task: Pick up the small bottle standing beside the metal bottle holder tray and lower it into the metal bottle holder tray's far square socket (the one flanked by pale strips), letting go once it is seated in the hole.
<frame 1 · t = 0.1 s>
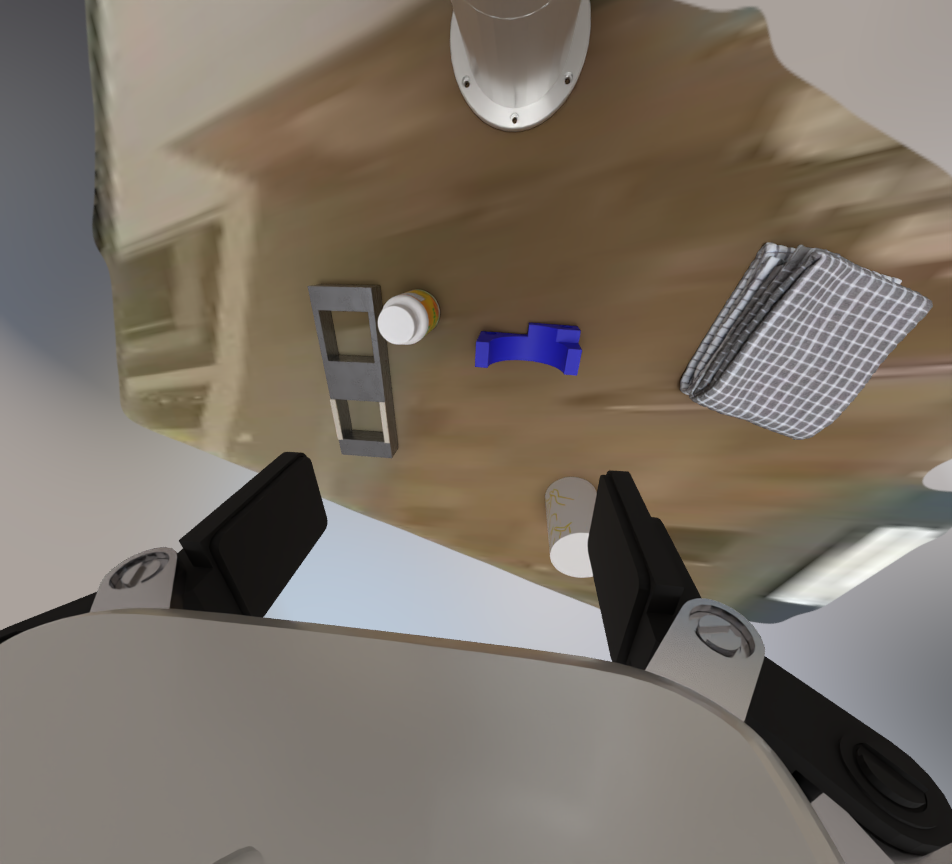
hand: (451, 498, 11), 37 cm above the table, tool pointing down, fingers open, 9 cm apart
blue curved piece: (527, 339, 45), on the table
supplement bottle: (420, 311, 44), on the table
metal bottle holder tray: (363, 374, 49), on the table
towel: (769, 339, 41), on the table
cup: (570, 496, 55), on the table
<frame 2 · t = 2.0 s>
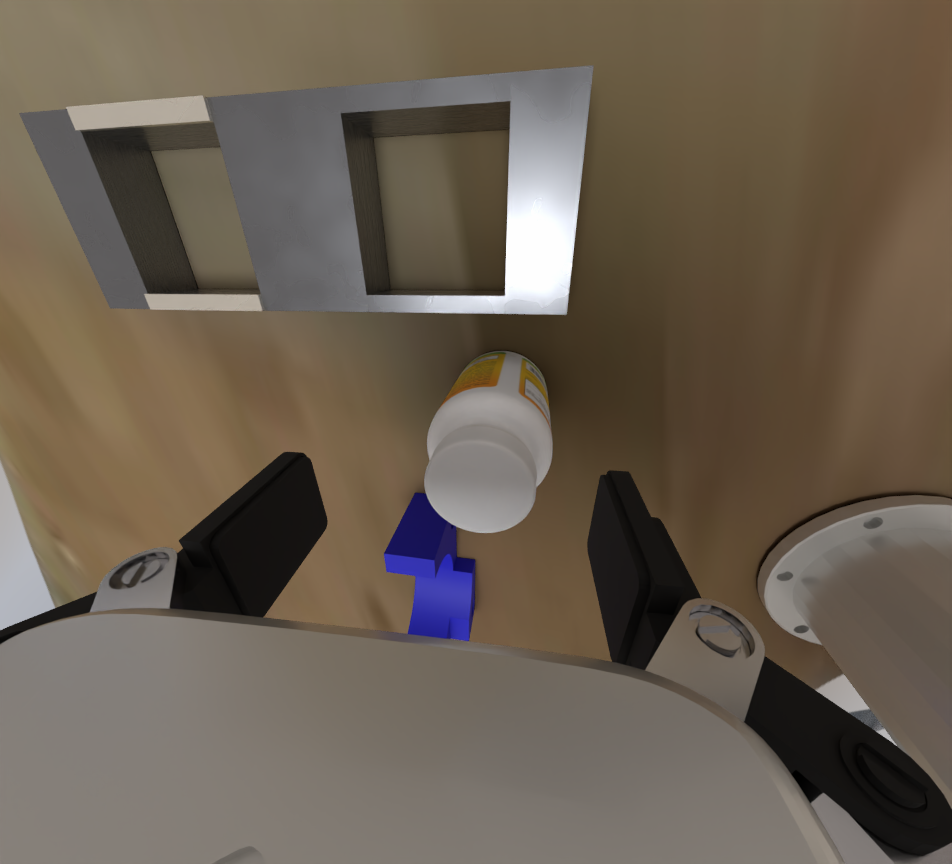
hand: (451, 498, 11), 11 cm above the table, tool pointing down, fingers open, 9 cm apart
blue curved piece: (448, 552, 28), on the table
supplement bottle: (501, 392, 21), on the table
metal bottle holder tray: (331, 221, 18), on the table
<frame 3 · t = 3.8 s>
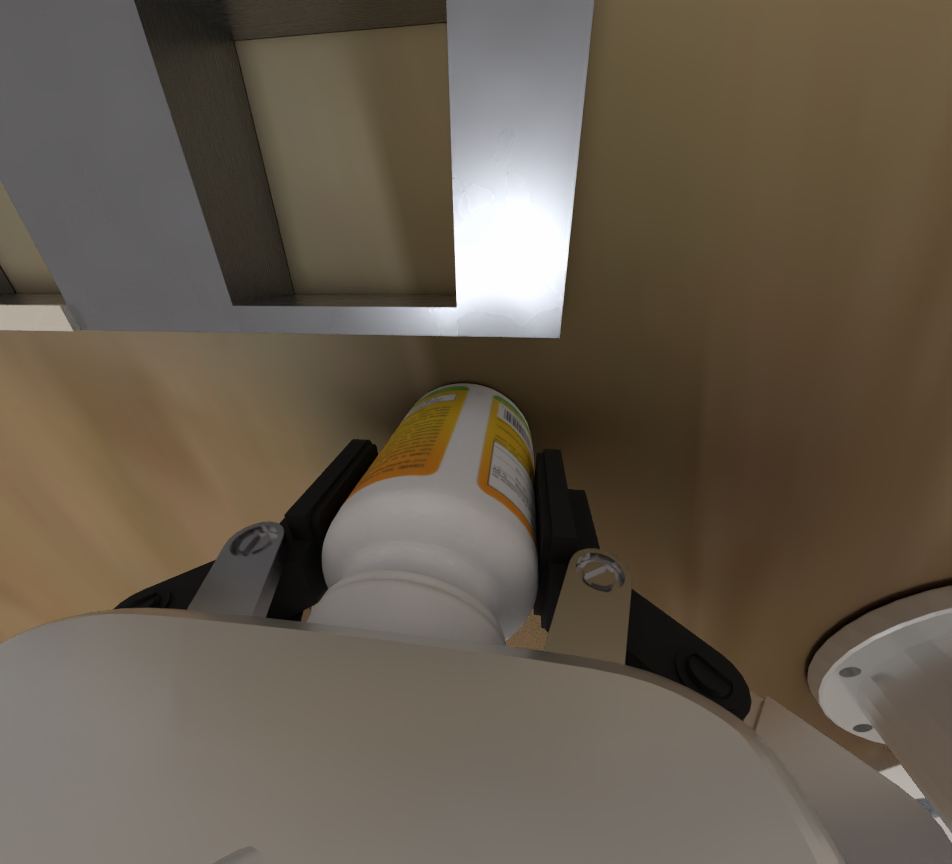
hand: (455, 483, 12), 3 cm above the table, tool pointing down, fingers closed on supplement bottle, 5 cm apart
supplement bottle: (468, 438, 15), on the table, touching gripper
metal bottle holder tray: (190, 187, 11), on the table
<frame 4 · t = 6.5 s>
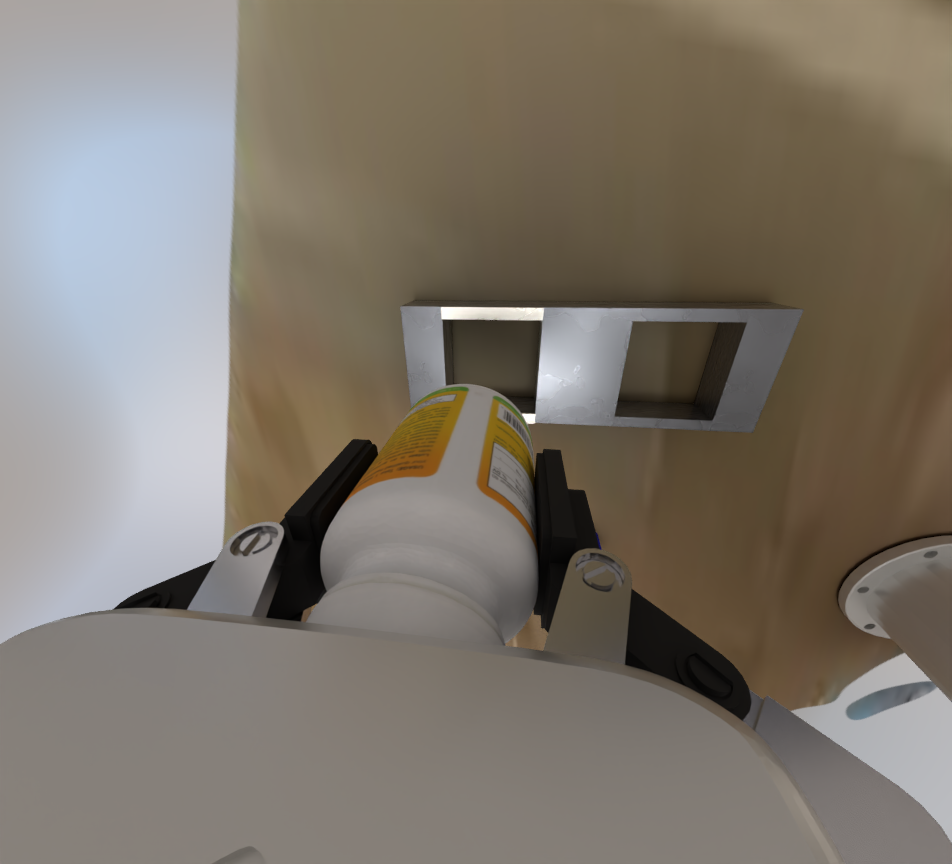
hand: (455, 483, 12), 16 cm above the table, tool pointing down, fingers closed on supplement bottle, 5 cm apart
supplement bottle: (468, 439, 15), point 13 cm above the table, touching gripper
metal bottle holder tray: (574, 358, 26), on the table
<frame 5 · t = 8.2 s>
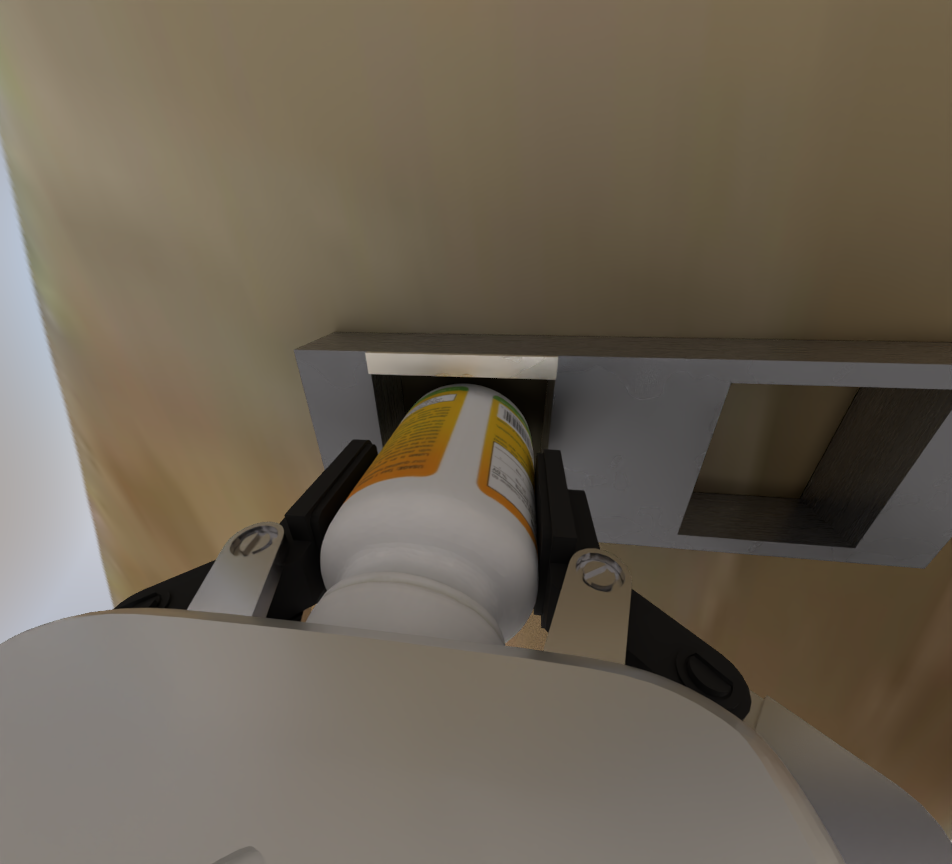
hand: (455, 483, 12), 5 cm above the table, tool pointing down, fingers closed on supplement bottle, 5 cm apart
supplement bottle: (468, 438, 15), point 2 cm above the table, touching gripper
metal bottle holder tray: (605, 427, 15), on the table
when the fingers open (4 cm above the table, at t = 9.4 s): supplement bottle drops 1 cm, resting in metal bottle holder tray.
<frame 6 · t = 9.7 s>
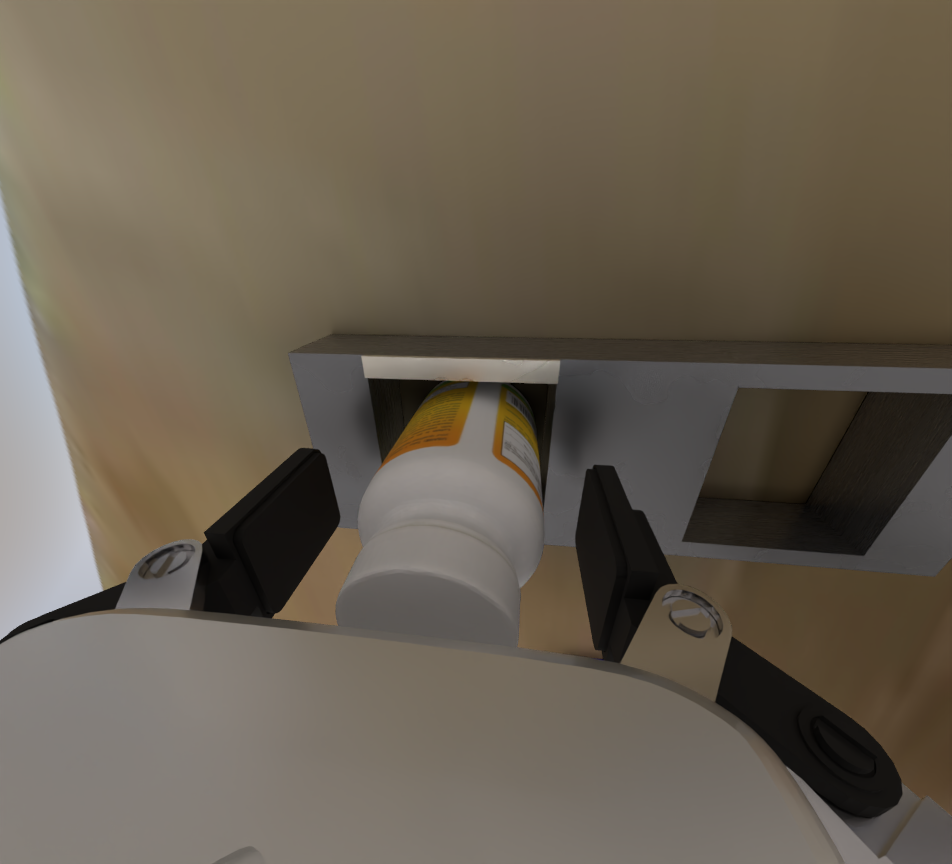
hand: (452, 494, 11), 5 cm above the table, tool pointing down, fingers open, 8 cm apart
supplement bottle: (477, 424, 16), resting in metal bottle holder tray
metal bottle holder tray: (607, 431, 15), on the table
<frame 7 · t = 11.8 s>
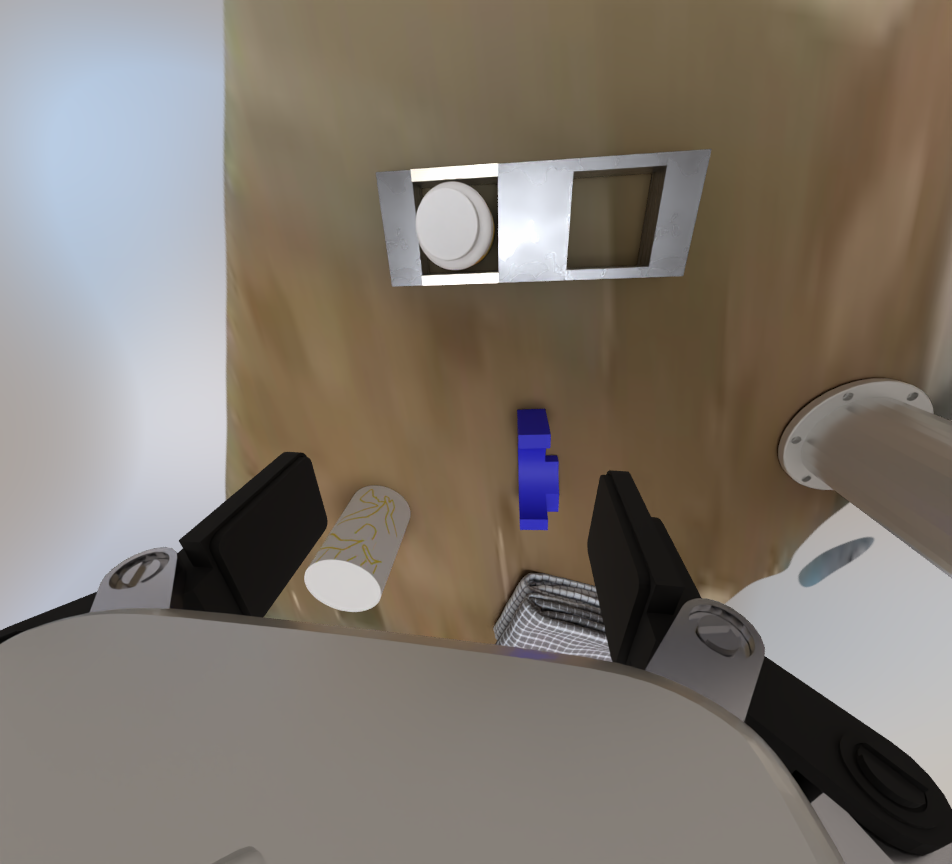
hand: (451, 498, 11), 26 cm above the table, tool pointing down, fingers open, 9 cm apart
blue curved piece: (537, 453, 40), on the table
supplement bottle: (464, 232, 30), resting in metal bottle holder tray
metal bottle holder tray: (531, 227, 29), on the table
towel: (561, 609, 53), on the table
cup: (381, 508, 46), on the table
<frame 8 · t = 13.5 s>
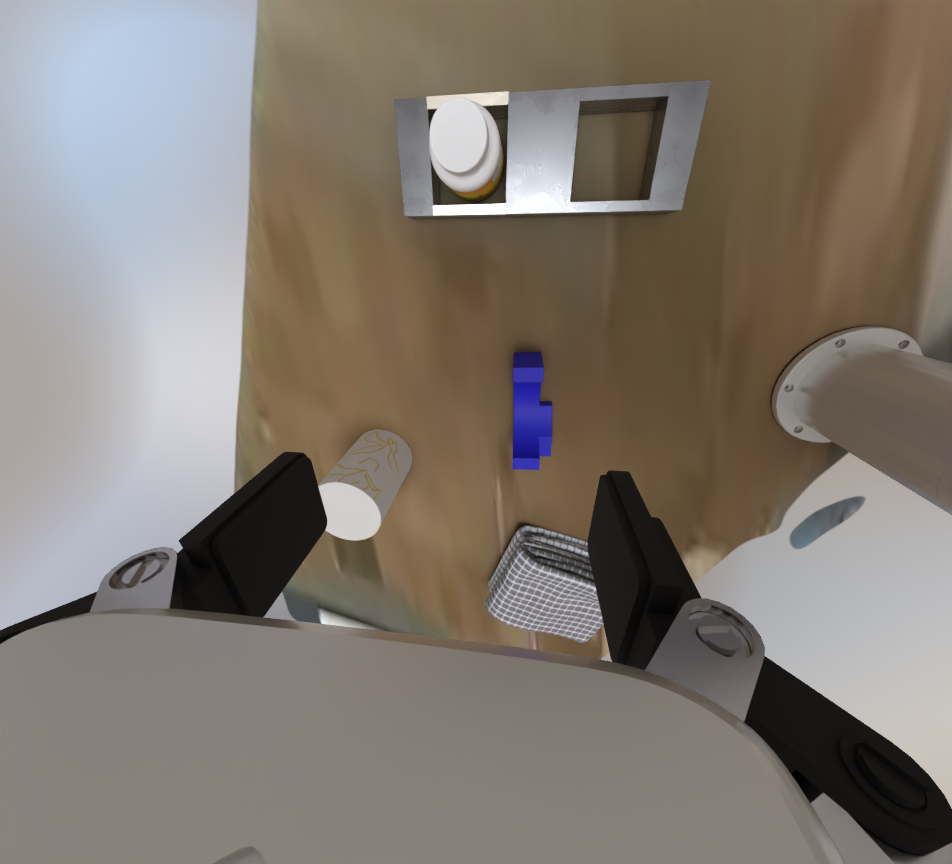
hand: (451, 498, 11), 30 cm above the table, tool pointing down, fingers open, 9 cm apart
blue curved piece: (532, 400, 42), on the table
supplement bottle: (475, 168, 32), resting in metal bottle holder tray
metal bottle holder tray: (538, 164, 31), on the table
towel: (555, 566, 55), on the table
cup: (384, 454, 48), on the table
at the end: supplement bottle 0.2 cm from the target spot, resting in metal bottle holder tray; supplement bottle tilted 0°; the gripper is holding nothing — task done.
